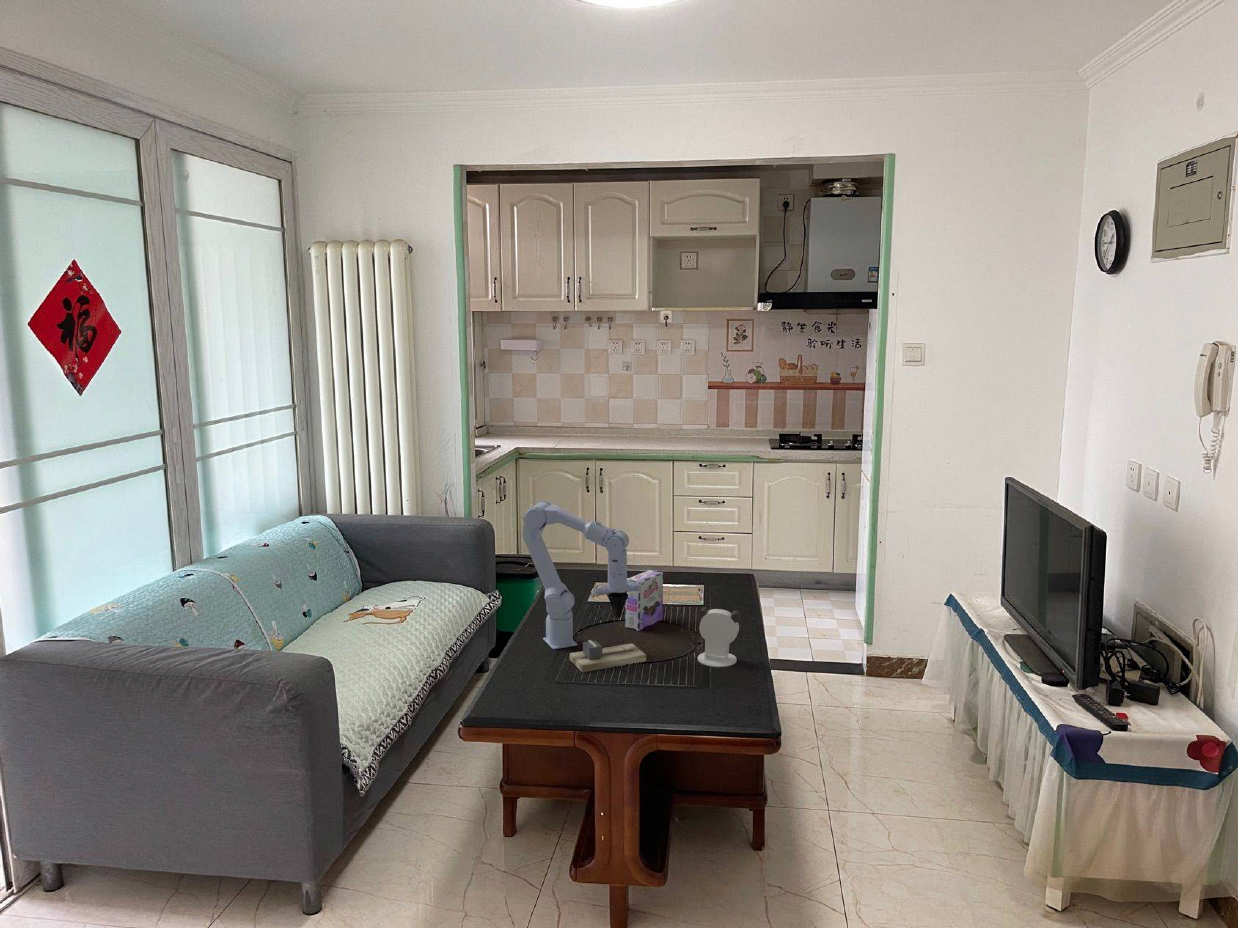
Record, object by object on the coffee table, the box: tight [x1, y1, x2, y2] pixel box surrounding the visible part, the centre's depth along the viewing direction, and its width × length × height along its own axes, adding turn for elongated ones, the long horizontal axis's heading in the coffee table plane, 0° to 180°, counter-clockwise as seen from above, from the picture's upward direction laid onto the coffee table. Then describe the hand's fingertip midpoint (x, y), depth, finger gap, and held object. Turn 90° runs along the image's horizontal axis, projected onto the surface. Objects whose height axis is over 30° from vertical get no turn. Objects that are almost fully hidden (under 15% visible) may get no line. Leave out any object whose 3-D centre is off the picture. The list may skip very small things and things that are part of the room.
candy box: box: [624, 569, 664, 632], centre depth 286 cm, size 14×6×16 cm, turn 143°
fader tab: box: [582, 639, 603, 659], centre depth 254 cm, size 5×4×4 cm
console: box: [569, 643, 647, 673], centre depth 256 cm, size 10×20×2 cm, turn 114°
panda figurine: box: [697, 606, 742, 668], centre depth 256 cm, size 12×11×15 cm
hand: (617, 616), depth 263 cm, fingers closed
